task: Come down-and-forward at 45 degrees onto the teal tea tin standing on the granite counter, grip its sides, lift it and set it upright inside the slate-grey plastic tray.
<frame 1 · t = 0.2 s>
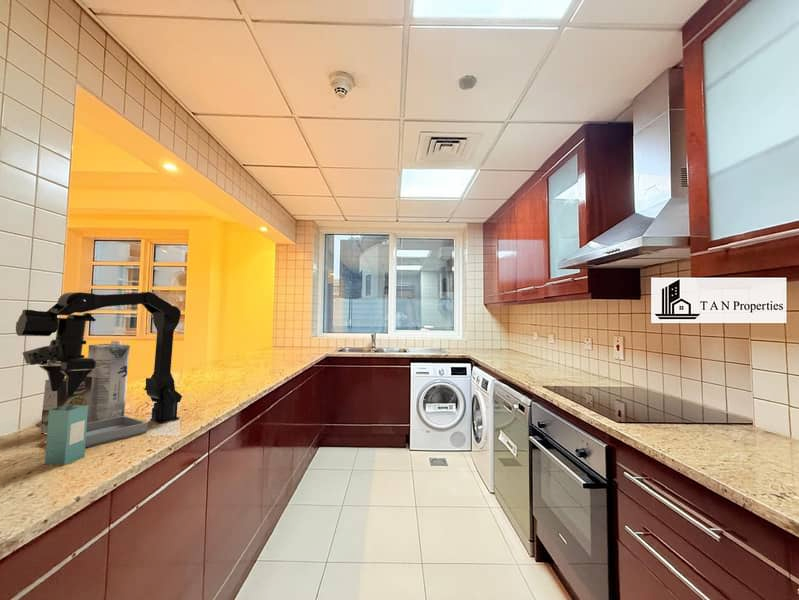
hand: (61, 393, 95), 14 cm above the countertop, tool pointing down, fingers open, 9 cm apart
tray: (100, 436, 102), on the countertop
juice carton: (104, 420, 117), on the countertop
tea tin: (64, 460, 85), on the countertop
coffee box: (65, 431, 106), on the countertop
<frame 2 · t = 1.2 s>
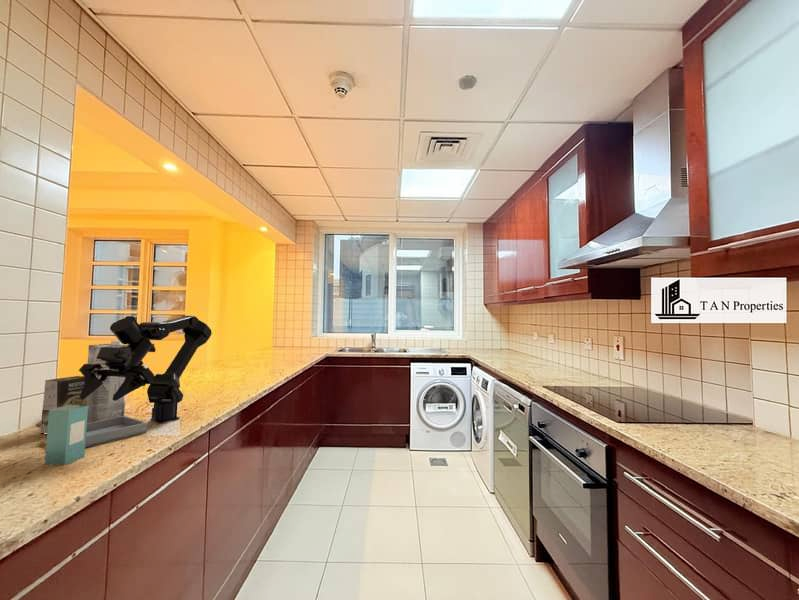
hand: (97, 399, 94), 13 cm above the countertop, tool tilted 45°, fingers open, 9 cm apart
nothing on the countertop moved.
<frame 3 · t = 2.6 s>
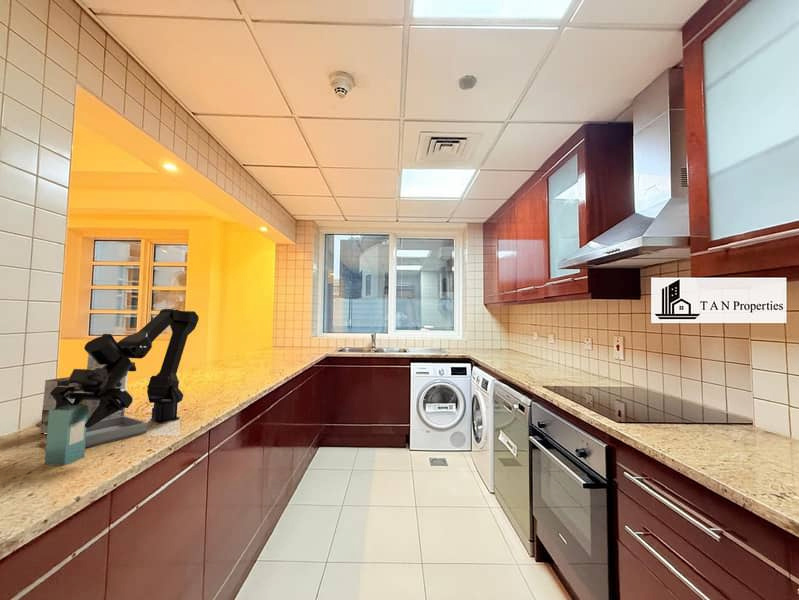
hand: (68, 426, 86), 8 cm above the countertop, tool tilted 45°, fingers open, 9 cm apart
nothing on the countertop moved.
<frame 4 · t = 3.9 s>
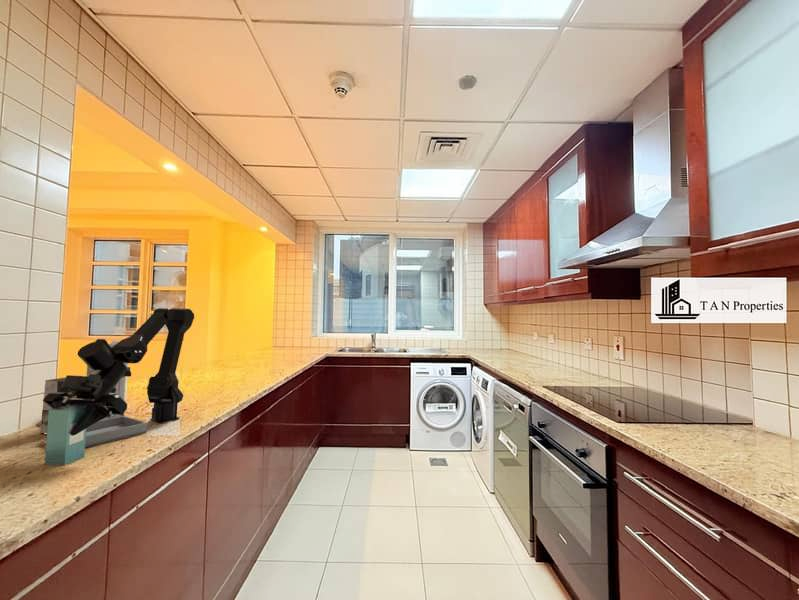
hand: (61, 434, 84), 7 cm above the countertop, tool tilted 45°, fingers closed on tea tin, 5 cm apart
tea tin: (64, 460, 85), on the countertop, touching gripper
everything else where it was.
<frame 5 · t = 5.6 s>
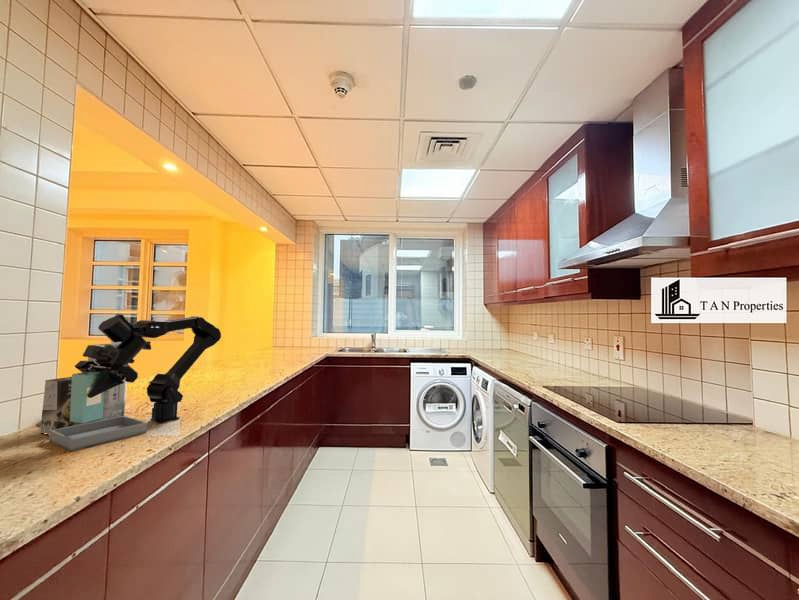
hand: (82, 396, 96), 13 cm above the countertop, tool tilted 45°, fingers closed on tea tin, 5 cm apart
tea tin: (86, 419, 97), point 7 cm above the countertop, touching gripper
everything else where it was.
when the fingers open (9 cm above the countertop, at t = 7.3 s): tea tin drops 1 cm, resting on tray.
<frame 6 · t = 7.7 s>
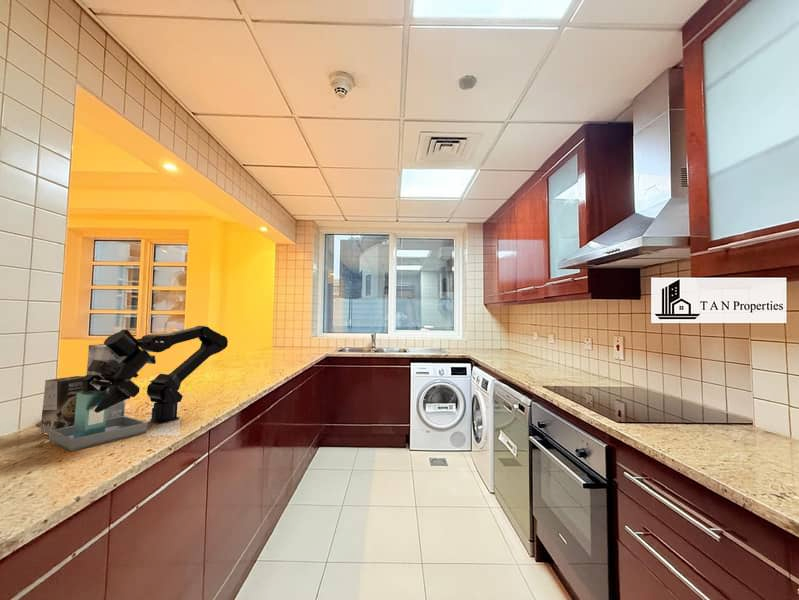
hand: (85, 410, 98), 9 cm above the countertop, tool tilted 45°, fingers open, 9 cm apart
tea tin: (89, 438, 99), point 1 cm above the countertop, touching tray
everything else where it was.
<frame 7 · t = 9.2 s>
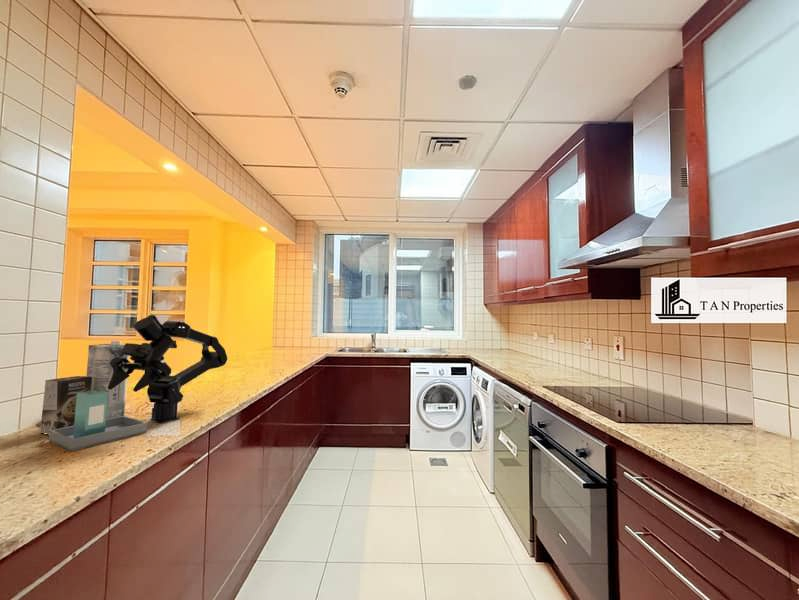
hand: (121, 389, 104), 14 cm above the countertop, tool tilted 45°, fingers open, 9 cm apart
nothing on the countertop moved.
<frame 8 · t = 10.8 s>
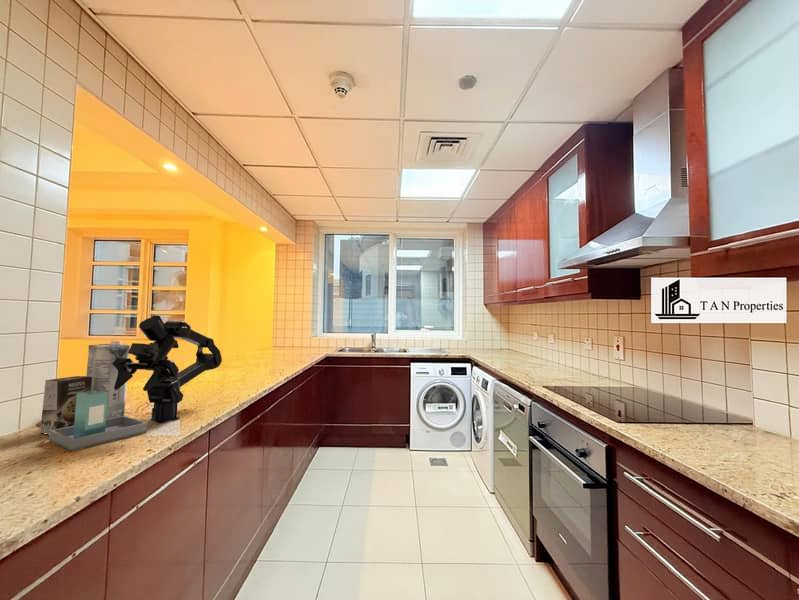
hand: (129, 389, 105), 14 cm above the countertop, tool tilted 45°, fingers open, 9 cm apart
nothing on the countertop moved.
at the end: tea tin inside the target area on the tray (2.9 cm from its centre), point 0.6 cm above the tray's base; tea tin tilted 0°; the gripper is holding nothing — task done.
